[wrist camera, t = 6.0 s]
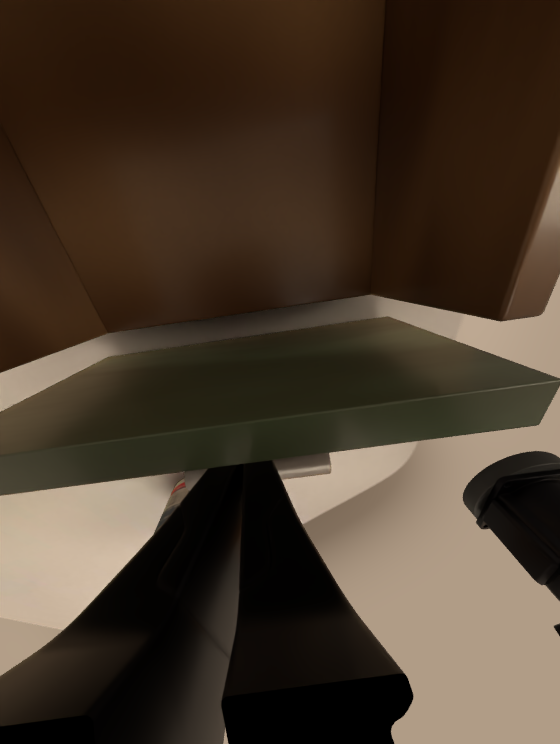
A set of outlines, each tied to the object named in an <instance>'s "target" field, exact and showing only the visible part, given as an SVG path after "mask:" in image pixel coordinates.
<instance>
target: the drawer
mask: <svg viewBox="0 0 560 744" xmlns="http://www.w3.org/2000/svg"><path fill="white" fill-rule="evenodd" d="M559 274H560V0H0V373H1V372H4V371H7V370H9V369H12V368H15V367H18V366H20V365H23V364H26V363H29V362H31V361H34V360H37V359H39V358H42V357H45V356H48V355H50V354H53V353H56V352H59V351H61V350H64V349H67V348H70V347H72V346H75V345H78V344H80V343H83V342H86V341H89V340H91V339H94V338H97V337H100V336H102V335H105V334H107V333H114V332H120V331H127V330H134V329H141V328H148V327H154V326H161V325H168V324H175V323H182V322H188V321H195V320H202V319H209V318H216V317H222V316H229V315H236V314H243V313H250V312H256V311H263V310H270V309H277V308H284V307H290V306H297V305H304V304H311V303H318V302H324V301H331V300H338V299H345V298H351V297H358V296H365V295H375V296H380V297H385V298H390V299H395V300H399V301H404V302H409V303H414V304H419V305H424V306H428V307H433V308H438V309H443V310H448V311H453V312H457V313H462V314H467V315H472V316H477V317H482V318H487V319H491V320H496V321H507V320H513V319H520V318H528V317H534V316H539V315H541V314H542V313H543V312H544V310H545V307H546V305H547V303H548V301H549V298H550V296H551V293H552V291H553V289H554V286H555V284H556V282H557V279H558V277H559ZM559 386H560V378H557V377H554V376H551V375H548V374H546V373H543V372H540V371H537V370H535V369H531V368H529V367H526V366H524V365H521V364H518V363H515V362H512V361H510V360H507V359H504V358H501V357H499V356H496V355H493V354H490V353H488V352H485V351H482V350H479V349H477V348H474V347H471V346H468V345H466V344H463V343H460V342H457V341H455V340H452V339H449V338H446V337H444V336H441V335H438V334H435V333H432V332H430V331H427V330H424V329H421V328H419V327H416V326H413V325H410V324H408V323H405V322H402V321H399V320H397V319H394V318H391V317H388V316H387V317H381V318H374V319H367V320H360V321H353V322H346V323H339V324H332V325H325V326H318V327H311V328H304V329H298V330H291V331H284V332H277V333H270V334H263V335H256V336H249V337H242V338H235V339H228V340H221V341H214V342H208V343H201V344H194V345H187V346H180V347H173V348H166V349H159V350H152V351H145V352H138V353H131V354H125V355H118V356H111V357H107V358H105V359H103V360H101V361H99V362H97V363H96V364H94V365H92V366H90V367H88V368H86V369H84V370H82V371H80V372H78V373H76V374H74V375H72V376H70V377H68V378H66V379H64V380H62V381H60V382H58V383H56V384H54V385H52V386H51V387H49V388H47V389H45V390H43V391H41V392H39V393H37V394H35V395H33V396H31V397H29V398H27V399H25V400H23V401H21V402H19V403H17V404H15V405H13V406H11V407H9V408H7V409H6V410H4V411H2V412H0V496H1V495H9V494H16V493H24V492H32V491H39V490H47V489H55V488H62V487H70V486H78V485H85V484H93V483H100V482H108V481H116V480H123V479H131V478H139V477H146V476H154V475H162V474H169V473H177V472H184V471H185V472H184V481H185V486H186V488H187V489H188V490H189V491H190V490H191V489H192V487H193V486H194V485H195V484H196V482H197V481H198V480H199V479H200V477H201V476H202V475H203V474H204V473H205V471H206V470H207V469H208V468H215V467H223V466H230V465H238V464H246V463H253V462H261V461H268V460H273V461H274V463H275V465H276V468H277V470H278V472H279V475H280V477H281V479H282V480H283V479H291V478H299V477H306V476H314V475H322V474H330V473H331V463H330V456H329V453H330V452H337V451H345V450H352V449H360V448H368V447H375V446H383V445H391V444H398V443H406V442H414V441H421V440H428V439H436V438H444V437H452V436H459V435H466V434H474V433H482V432H489V431H498V430H505V429H513V428H520V427H528V426H536V425H539V424H540V422H541V420H542V418H543V416H544V414H545V412H546V411H547V409H548V407H549V405H550V403H551V401H552V399H553V398H554V395H555V394H556V392H557V390H558V388H559Z"/></svg>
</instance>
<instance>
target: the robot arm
mask: <svg viewBox="0 0 560 744" xmlns="http://www.w3.org/2000/svg"><path fill="white" fill-rule="evenodd" d="M476 523H477V524H478V526H479V527H480V528H481V529H491V530H492V531H493V533H494V534H495V535H496V536H497V537H498V538H499V539H500V541H501V542H502V543H503V544H504V545H505V546H506V547H507V549H508V550H509V551H510V552H511V553H512V555H513V556H514V557H515V558H516V559H517V560H518V562H519V563H520V564H521V565H522V566H523V567H524V569H525V570H526V571H527V572H528V573H529V574H530V575H531V577H532V578H533V579H534V580H535V581H536V582H538V583H539V584H541V585H546V586H547V587H548V589H549V590H550V591H551V592H552V593H553V594H554V595H555V596H556V598H557V599H558V600H559V601H560V469H556V470H548V471H540V472H532V473H524V474H516V475H508V476H503V477H500V478H499V479H498V480H497V481H496V483H495V485H494V487H493V489H492V491H491V493H490V495H489V497H488V499H487V501H486V503H485V505H484V507H483V509H482V511H481V513H480V515H479V517H478V519H477V521H476ZM554 628H555V630H556V631H557V633H558V634H559V636H560V624H557V625H555V626H554ZM412 700H413V692H412V689H411V687H410V684H409V681H408V678H407V676H406V675H405V674H404V673H403V671H402V670H401V669H400V667H399V666H398V665H397V664H396V662H395V661H394V660H393V658H392V657H391V656H390V655H389V654H388V653H387V651H386V650H385V648H384V647H383V646H382V645H381V643H380V642H379V641H378V640H377V639H376V637H375V636H374V635H373V633H372V632H371V631H370V630H369V629H368V627H367V626H366V625H365V623H364V622H363V621H362V620H361V618H360V617H359V616H358V614H357V613H356V612H355V610H354V609H353V607H352V606H351V604H350V603H349V601H348V600H347V598H346V597H345V595H344V594H343V592H342V591H341V589H340V588H339V586H338V584H337V583H336V581H335V579H334V578H333V576H332V574H331V573H330V571H329V569H328V568H327V566H326V564H325V563H324V561H323V559H322V558H321V556H320V554H319V552H318V551H317V549H316V547H315V546H314V544H313V543H312V541H311V539H310V537H309V536H308V534H307V532H306V530H305V529H304V527H303V525H302V523H301V521H300V519H299V518H298V516H297V513H296V511H295V509H294V507H293V505H292V503H291V500H290V498H289V496H288V493H287V492H286V489H285V487H284V484H283V482H282V479H281V477H280V475H279V472H278V470H277V468H276V465H275V463H274V461H273V460H268V461H261V462H253V463H246V464H238V465H230V466H223V467H215V468H208V469H207V470H206V471H205V473H204V474H203V475H202V476H201V477H200V479H199V480H198V481H197V482H196V484H195V485H194V486H193V487H192V489H191V490H190V491H189V492H188V494H187V495H186V496H185V497H184V499H183V500H182V501H181V502H180V505H178V506H177V507H176V508H175V510H174V511H173V512H172V513H171V514H170V516H169V517H168V518H167V519H166V520H165V522H164V523H163V524H162V525H161V526H160V528H159V529H158V530H157V531H156V532H155V534H154V535H153V536H152V537H151V538H150V539H149V540H148V541H147V542H146V544H145V545H144V546H143V547H142V548H141V549H140V550H139V551H138V552H137V554H136V555H135V556H134V557H133V558H132V559H131V560H130V561H129V562H128V563H127V564H126V565H125V567H124V568H123V569H122V570H121V571H120V572H119V573H118V574H117V575H116V576H115V577H114V578H113V579H112V581H111V582H110V583H109V584H108V585H107V586H106V587H105V588H104V589H103V590H102V591H101V592H100V593H99V595H98V596H97V597H96V598H95V599H94V600H93V601H92V602H91V603H90V604H89V605H88V606H87V608H86V609H85V610H84V611H83V612H82V613H81V614H80V615H79V616H78V617H77V618H76V619H75V620H74V621H73V622H72V623H71V624H70V625H68V626H67V627H66V628H65V629H64V630H63V631H62V632H61V633H60V634H58V635H57V636H56V637H55V638H54V639H53V640H51V641H50V642H49V643H47V644H46V645H45V646H43V647H42V648H41V649H40V650H38V651H37V652H35V653H34V654H32V655H31V656H30V657H28V658H27V659H25V660H24V661H22V662H21V663H19V664H18V665H16V666H15V667H13V668H12V669H10V670H9V671H7V672H6V673H4V674H3V675H1V676H0V744H223V741H224V732H225V728H226V733H227V738H228V743H229V744H394V741H393V739H392V735H391V728H392V725H393V724H394V722H395V721H397V720H398V719H400V718H401V717H403V716H404V715H405V713H406V712H407V710H408V709H409V706H410V705H411V703H412Z"/></svg>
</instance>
